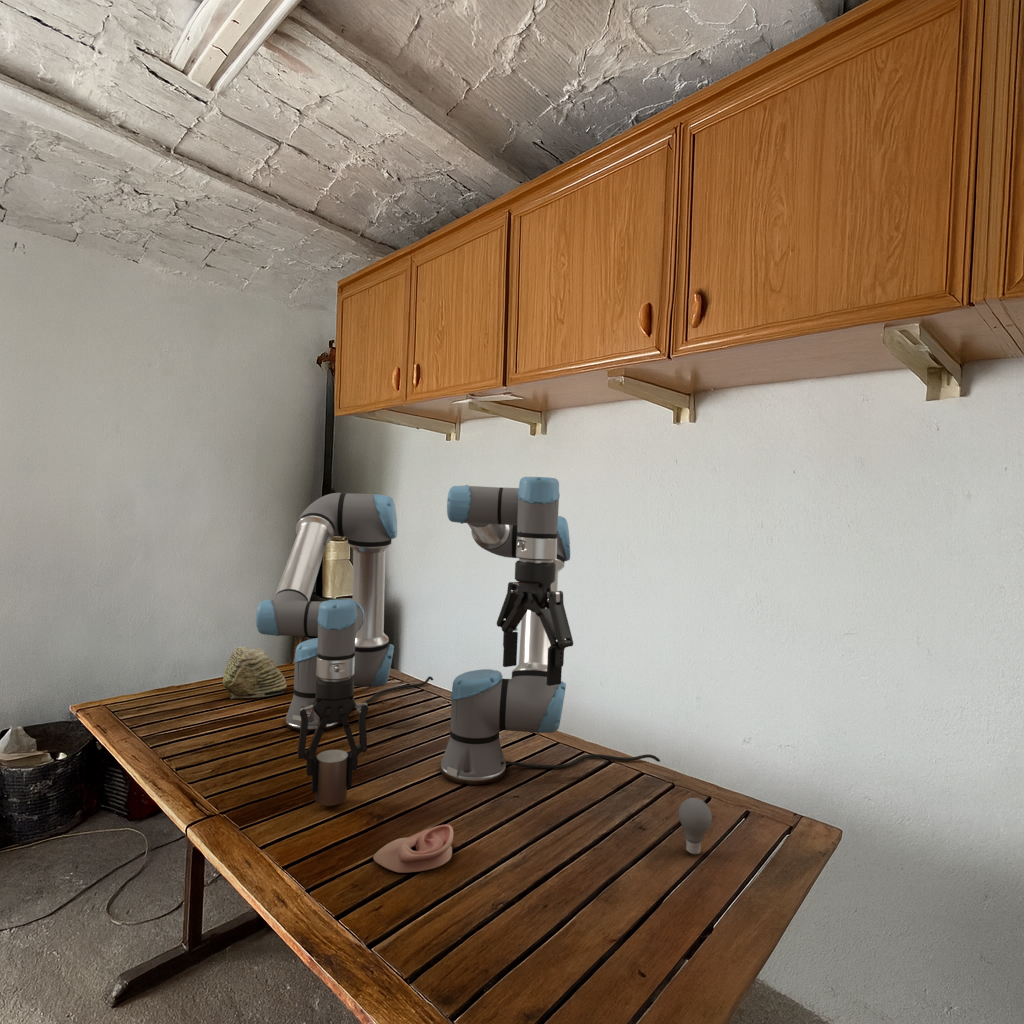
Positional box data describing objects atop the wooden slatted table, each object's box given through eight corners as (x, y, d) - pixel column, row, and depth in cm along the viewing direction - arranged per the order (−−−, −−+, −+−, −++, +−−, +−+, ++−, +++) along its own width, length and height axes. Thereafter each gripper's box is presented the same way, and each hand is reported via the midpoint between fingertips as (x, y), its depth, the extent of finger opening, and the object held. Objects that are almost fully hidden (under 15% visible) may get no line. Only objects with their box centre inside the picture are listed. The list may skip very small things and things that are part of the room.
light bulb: (672, 843, 121) (674, 791, 121) (702, 843, 121) (705, 792, 121) (683, 861, 115) (685, 807, 115) (715, 861, 115) (717, 807, 115)
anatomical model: (366, 844, 109) (392, 812, 120) (365, 867, 109) (391, 833, 120) (440, 856, 106) (459, 823, 117) (439, 880, 106) (458, 844, 117)
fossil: (218, 695, 195) (220, 647, 195) (278, 685, 208) (279, 640, 207) (228, 703, 189) (230, 653, 188) (289, 692, 201) (290, 645, 201)
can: (316, 792, 133) (318, 750, 132) (347, 790, 134) (348, 749, 134) (313, 806, 127) (315, 763, 126) (345, 805, 128) (347, 761, 128)
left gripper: (285, 685, 122) (282, 802, 123) (385, 679, 129) (381, 790, 130) (285, 674, 129) (281, 785, 130) (379, 668, 136) (375, 774, 137)
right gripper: (482, 554, 125) (477, 661, 125) (563, 568, 105) (557, 696, 105) (513, 553, 129) (508, 657, 130) (597, 567, 109) (591, 690, 109)
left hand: (331, 787), depth 130 cm, fingers closed on can, 6 cm apart
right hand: (530, 674), depth 117 cm, fingers open, 13 cm apart
